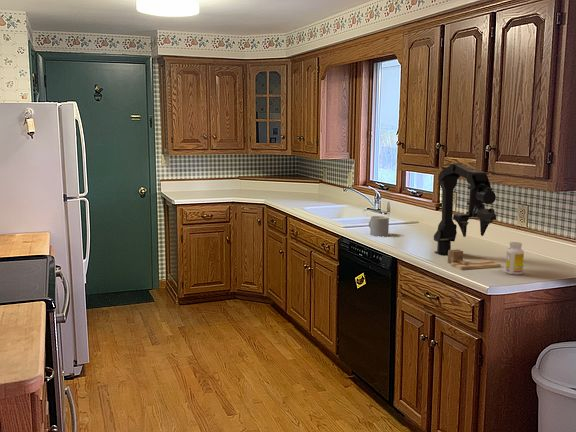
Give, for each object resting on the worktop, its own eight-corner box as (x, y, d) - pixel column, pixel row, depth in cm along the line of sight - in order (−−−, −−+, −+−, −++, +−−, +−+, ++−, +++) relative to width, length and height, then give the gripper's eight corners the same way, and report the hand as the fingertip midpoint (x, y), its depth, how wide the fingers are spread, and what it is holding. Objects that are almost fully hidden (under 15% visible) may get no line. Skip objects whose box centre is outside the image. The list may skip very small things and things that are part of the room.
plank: (450, 265, 260) (450, 262, 260) (488, 262, 267) (488, 260, 267) (461, 269, 253) (461, 266, 253) (500, 266, 259) (500, 264, 259)
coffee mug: (391, 236, 328) (392, 218, 327) (375, 237, 325) (376, 218, 323) (379, 231, 340) (380, 214, 339) (364, 232, 337) (364, 215, 335)
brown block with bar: (447, 263, 265) (448, 250, 264) (457, 262, 267) (457, 249, 266) (460, 268, 256) (461, 254, 255) (470, 267, 257) (471, 254, 256)
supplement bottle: (524, 273, 249) (527, 243, 247) (518, 275, 244) (521, 245, 242) (509, 270, 253) (511, 240, 251) (502, 273, 248) (504, 242, 246)
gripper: (469, 204, 245) (466, 241, 248) (506, 202, 251) (503, 238, 254) (453, 200, 255) (450, 236, 258) (489, 199, 262) (486, 233, 264)
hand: (473, 236), depth 258 cm, fingers open, 9 cm apart
